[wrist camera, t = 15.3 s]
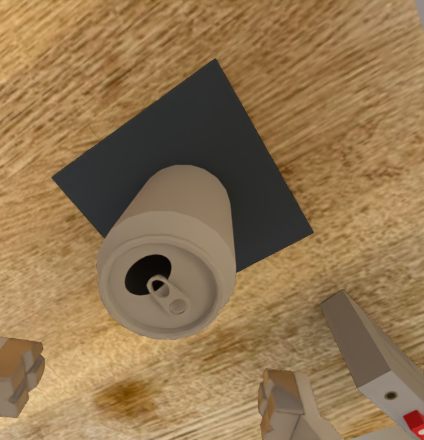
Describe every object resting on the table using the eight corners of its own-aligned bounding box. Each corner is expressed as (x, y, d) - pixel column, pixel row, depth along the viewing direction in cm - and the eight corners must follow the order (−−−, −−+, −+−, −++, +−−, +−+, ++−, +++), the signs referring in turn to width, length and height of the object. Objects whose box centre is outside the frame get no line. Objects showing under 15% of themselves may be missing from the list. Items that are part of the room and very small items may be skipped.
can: (182, 141, 23) (150, 191, 12) (248, 205, 25) (270, 296, 14) (123, 205, 26) (52, 295, 15) (188, 259, 28) (168, 373, 17)
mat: (215, 58, 21) (215, 58, 21) (313, 231, 26) (313, 232, 26) (52, 176, 25) (51, 177, 25) (166, 307, 30) (166, 309, 30)
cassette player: (319, 304, 30) (363, 402, 21) (342, 289, 29) (399, 383, 20) (402, 385, 34) (470, 496, 25) (425, 374, 33) (503, 484, 24)
